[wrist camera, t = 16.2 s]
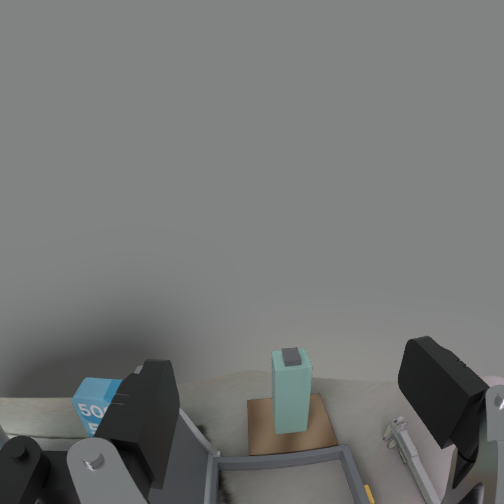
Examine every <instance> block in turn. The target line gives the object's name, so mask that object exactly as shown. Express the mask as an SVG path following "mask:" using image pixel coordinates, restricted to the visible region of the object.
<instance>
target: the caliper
mask: <svg viewBox="0 0 504 504" xmlns="http://www.w3.org/2000/svg"><path fill="white" fill-rule="evenodd" d="M402 422H403V416H401V417H397V418H395V419H392V421H391V422H390V423H389V425H388V426H387V429H386V431H385V434H384V437H383V440H384V441H385V440H388V439H390V438H391V436H392V435H394V437H395V438H394V439H393V440H392V441H391V442H390V444H389V446H388V448H389V449H390V448H393V447H396V446H398V448H399V453H400V456H401V458H402V459H403V462H404V464H408V466H409V468H410V470H411V472H412V474H413V476H414V478H415V480H416V482H417V484H418V486H419V489H420V491H421V493H422V495H423V497H424V499H425V501H426V504H441V502H440V499H439V497H438V495H437V493H436V491H435V489H434V487H433V485H432V483H431V481H430V479H429V477H428V475H427V473H426V471H425V469H424V467H423V465H422V463H421V461H420V459H419V458H418V452H417V450H416V448H415V446H414V444H413V442H412V440H411V438H410V436H409V434H408V433H407V431H406V429H405V430H404V426H405V425H406V424H407V422H404V423H402ZM401 423H402V424H401Z"/></svg>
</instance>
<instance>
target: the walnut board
mask: <svg viewBox="0 0 504 504" xmlns="http://www.w3.org/2000/svg"><path fill="white" fill-rule="evenodd" d="M247 405H248V432H249V456H266V455H278V454H288V453H297V452H304V451H311V450H318V449H324V448H330V447H335V446H338V444H337V441H336V438H335V435H334V432H333V429H332V427H331V424H330V421H329V418H328V415H327V413H326V410H325V407H324V404H323V402H322V399H321V396H320V393H318V394H311V395H310V403H309V413H308V422H307V431H302V432H293V433H284V434H275V429H274V422H273V415H272V399H257V400H247Z"/></svg>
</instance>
